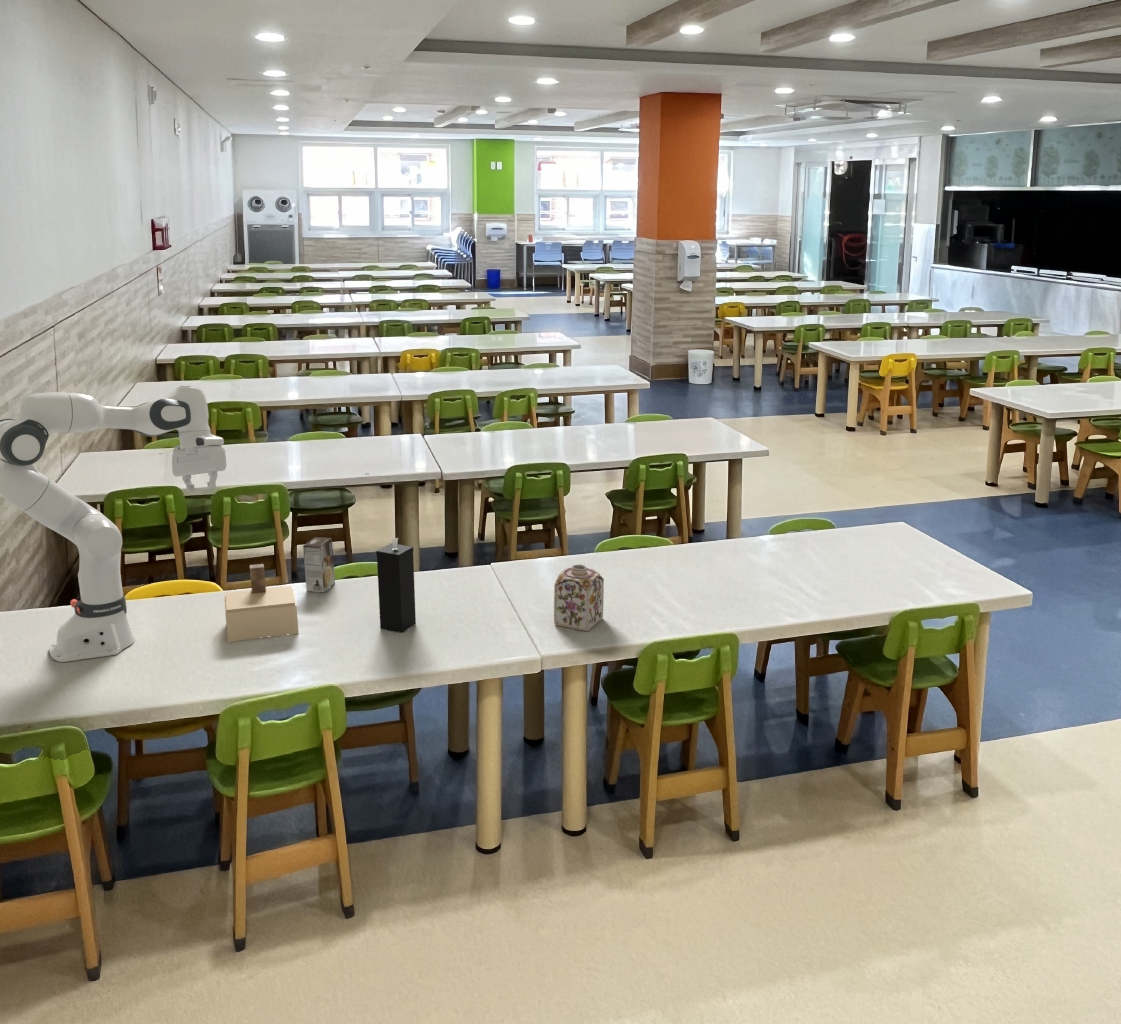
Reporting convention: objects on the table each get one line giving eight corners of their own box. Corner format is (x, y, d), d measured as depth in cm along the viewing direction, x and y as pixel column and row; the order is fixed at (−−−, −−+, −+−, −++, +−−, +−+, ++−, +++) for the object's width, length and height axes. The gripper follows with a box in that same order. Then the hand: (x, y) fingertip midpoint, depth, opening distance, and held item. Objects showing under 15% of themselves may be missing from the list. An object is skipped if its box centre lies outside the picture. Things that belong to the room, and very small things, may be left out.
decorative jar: (552, 625, 325) (553, 569, 320) (569, 612, 335) (569, 557, 330) (589, 632, 321) (589, 575, 315) (604, 618, 331) (605, 563, 325)
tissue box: (416, 624, 326) (413, 536, 318) (402, 633, 319) (398, 544, 311) (394, 619, 329) (390, 532, 321) (379, 628, 322) (375, 540, 314)
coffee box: (317, 581, 359) (314, 536, 354) (335, 583, 358) (332, 537, 353) (305, 591, 351) (302, 545, 346) (324, 593, 349) (321, 546, 345)
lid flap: (226, 612, 310) (224, 583, 307) (225, 595, 323) (223, 567, 320) (295, 605, 316) (293, 577, 313) (291, 588, 328) (289, 561, 326)
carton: (228, 641, 313) (225, 613, 310) (226, 623, 325) (224, 595, 323) (298, 633, 318) (296, 605, 316) (294, 616, 331) (292, 588, 329)
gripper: (164, 446, 317) (169, 493, 317) (209, 438, 305) (215, 487, 306) (181, 445, 322) (187, 491, 322) (227, 438, 311) (233, 485, 311)
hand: (201, 489), depth 314 cm, fingers open, 8 cm apart
